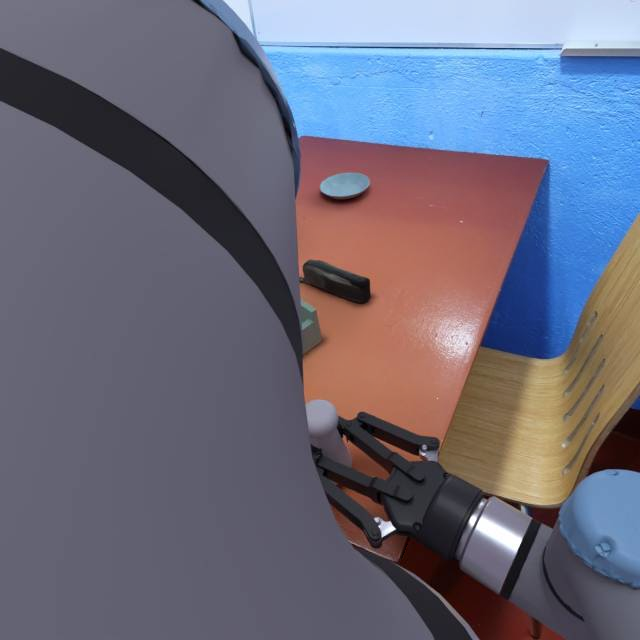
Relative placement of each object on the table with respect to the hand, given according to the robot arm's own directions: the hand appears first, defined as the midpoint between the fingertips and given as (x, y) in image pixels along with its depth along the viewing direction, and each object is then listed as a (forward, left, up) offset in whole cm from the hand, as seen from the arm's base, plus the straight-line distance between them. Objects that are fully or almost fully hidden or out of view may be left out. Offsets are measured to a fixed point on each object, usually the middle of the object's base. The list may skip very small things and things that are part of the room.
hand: (289, 419), depth 57 cm
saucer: (+53, +45, -7) cm, 70 cm away
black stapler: (+26, +21, -7) cm, 34 cm away
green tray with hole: (+10, +22, -7) cm, 25 cm away
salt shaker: (+1, -5, -7) cm, 9 cm away
